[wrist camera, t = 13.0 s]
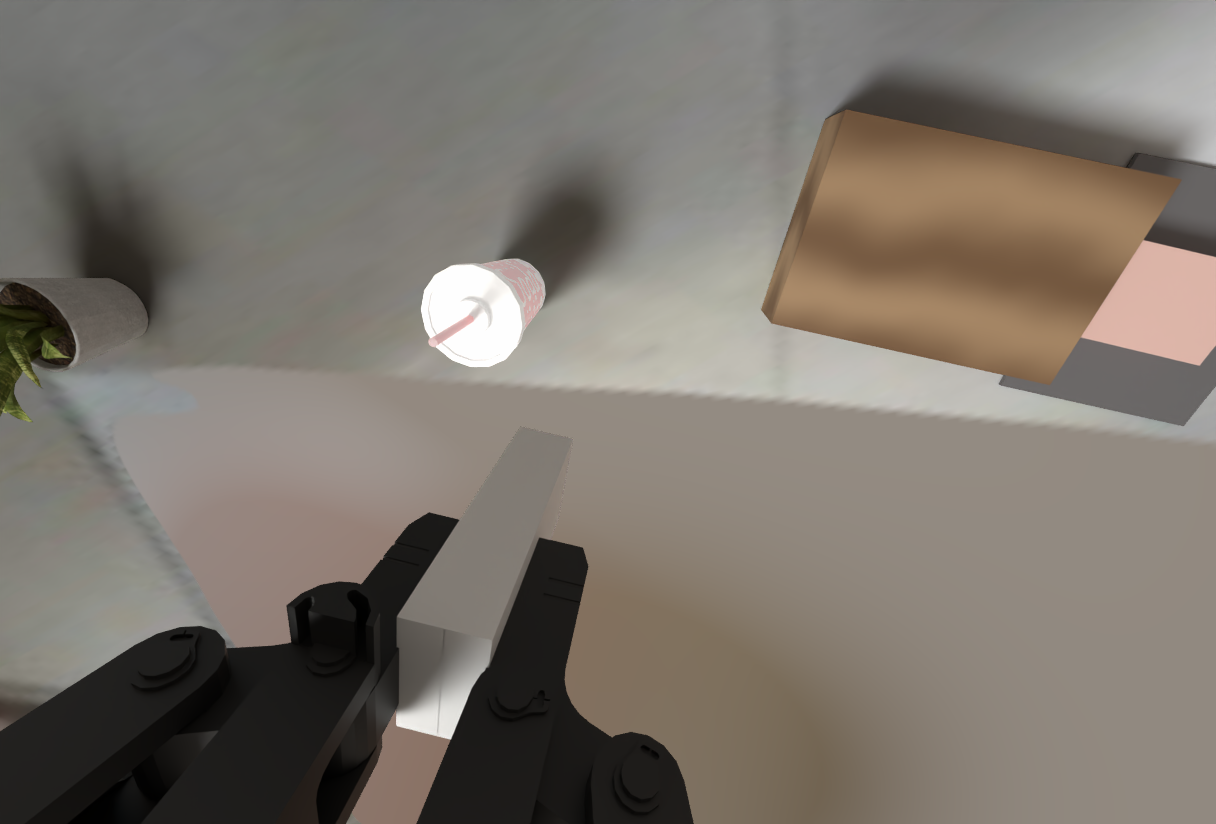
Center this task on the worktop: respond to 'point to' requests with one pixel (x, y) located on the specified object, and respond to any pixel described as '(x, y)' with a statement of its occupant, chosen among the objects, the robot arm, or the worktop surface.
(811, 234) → the brown wooden slab
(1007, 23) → the worktop surface
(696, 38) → the worktop surface
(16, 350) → the house plant
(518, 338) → the beverage cup
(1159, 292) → the block
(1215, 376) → the mat
